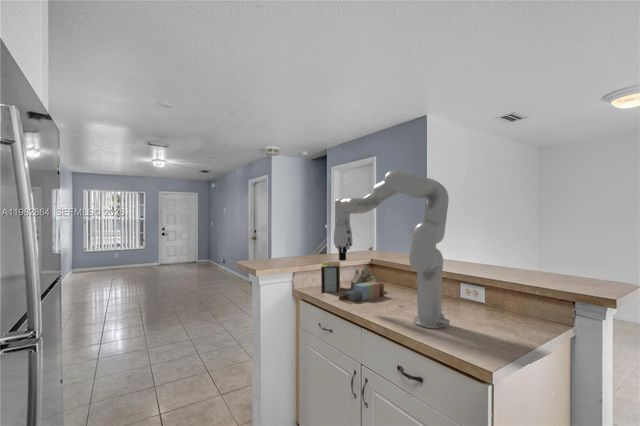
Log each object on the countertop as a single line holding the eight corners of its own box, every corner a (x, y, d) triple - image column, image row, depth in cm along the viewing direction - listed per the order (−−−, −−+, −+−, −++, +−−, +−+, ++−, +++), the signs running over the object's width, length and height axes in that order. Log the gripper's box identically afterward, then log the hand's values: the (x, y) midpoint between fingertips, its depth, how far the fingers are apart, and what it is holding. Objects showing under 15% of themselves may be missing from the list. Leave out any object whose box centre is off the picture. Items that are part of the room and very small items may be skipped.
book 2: (373, 297, 161) (373, 284, 161) (368, 299, 159) (368, 285, 159) (366, 295, 166) (366, 282, 166) (360, 296, 164) (360, 283, 164)
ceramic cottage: (347, 289, 183) (348, 264, 182) (372, 288, 187) (373, 264, 187) (356, 297, 168) (357, 270, 167) (383, 296, 172) (385, 270, 171)
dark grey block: (362, 300, 157) (362, 292, 157) (353, 302, 153) (353, 294, 153) (354, 297, 162) (354, 290, 162) (345, 299, 158) (345, 291, 158)
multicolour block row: (383, 298, 163) (383, 283, 163) (350, 306, 150) (349, 289, 150) (372, 294, 171) (372, 280, 171) (338, 301, 158) (338, 286, 158)
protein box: (340, 287, 189) (340, 262, 189) (339, 293, 173) (339, 266, 173) (323, 286, 190) (323, 261, 190) (321, 293, 174) (320, 266, 174)
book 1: (368, 299, 159) (368, 285, 159) (362, 300, 157) (362, 286, 157) (360, 296, 164) (360, 283, 164) (354, 297, 162) (354, 284, 162)
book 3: (380, 296, 164) (379, 283, 164) (374, 297, 161) (374, 284, 161) (372, 294, 169) (372, 281, 169) (366, 295, 166) (366, 282, 166)
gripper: (357, 223, 149) (358, 261, 149) (339, 223, 162) (339, 257, 162) (345, 224, 145) (345, 263, 145) (327, 223, 158) (327, 259, 158)
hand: (342, 260), depth 153 cm, fingers closed
